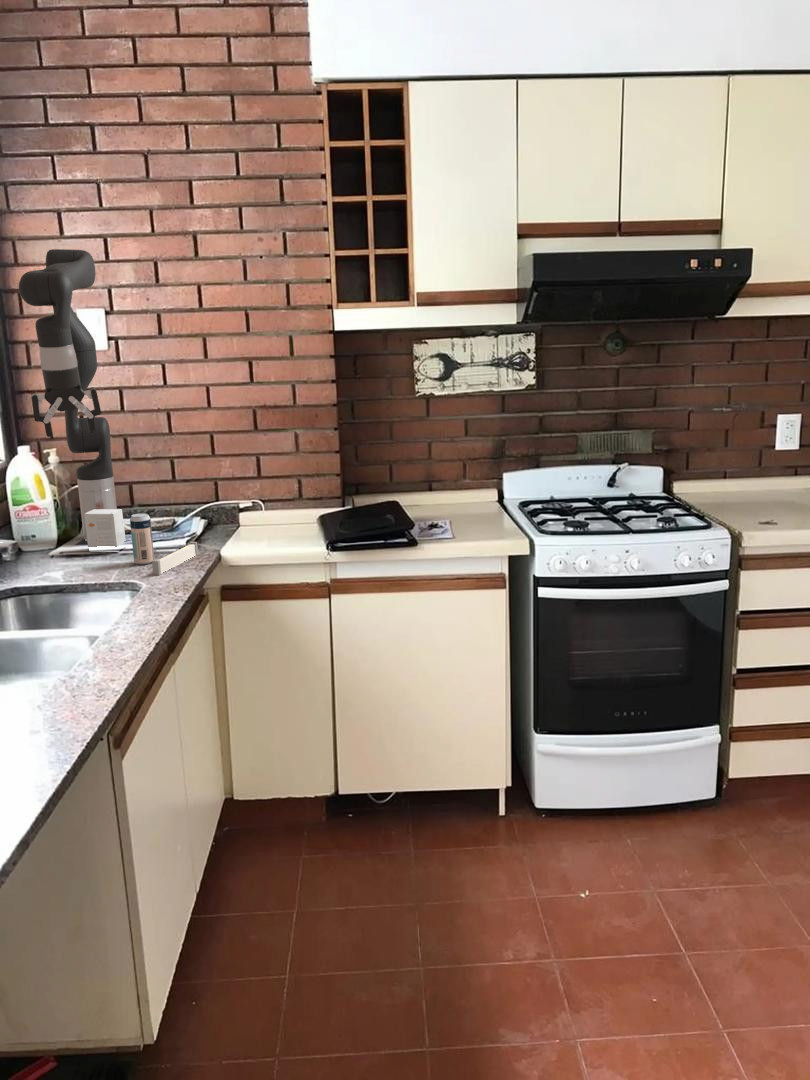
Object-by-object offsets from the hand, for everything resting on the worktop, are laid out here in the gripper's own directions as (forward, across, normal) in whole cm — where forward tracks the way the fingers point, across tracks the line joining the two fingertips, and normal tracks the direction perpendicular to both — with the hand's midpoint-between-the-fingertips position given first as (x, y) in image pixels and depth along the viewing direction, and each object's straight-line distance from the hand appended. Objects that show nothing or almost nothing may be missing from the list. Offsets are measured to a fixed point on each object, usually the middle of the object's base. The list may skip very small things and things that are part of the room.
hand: (71, 435), depth 195 cm
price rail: (+32, -18, +9) cm, 38 cm away
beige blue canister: (+33, -12, +4) cm, 35 cm away
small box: (+35, -4, -13) cm, 37 cm away
